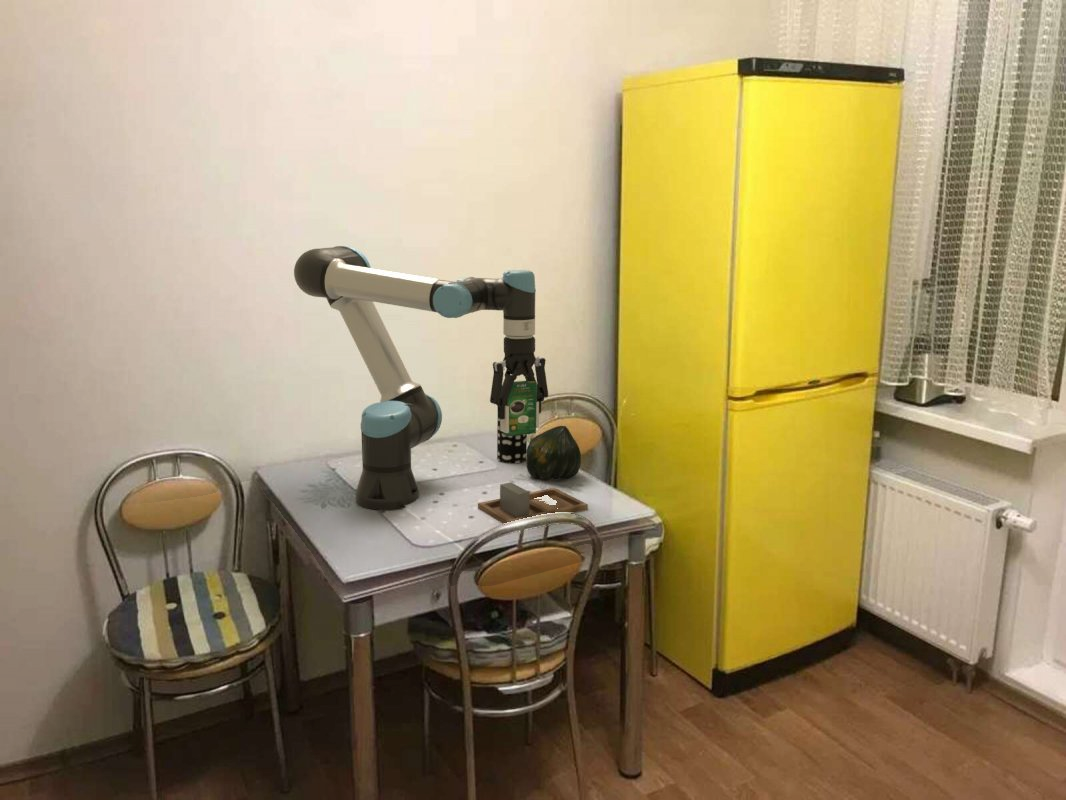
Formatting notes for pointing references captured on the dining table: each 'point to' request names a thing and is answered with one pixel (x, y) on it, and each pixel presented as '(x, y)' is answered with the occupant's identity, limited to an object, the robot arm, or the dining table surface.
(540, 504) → the tray
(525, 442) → the white-spotted black cylinder
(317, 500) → the dining table surface
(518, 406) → the coffee box
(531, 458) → the squash
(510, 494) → the block
